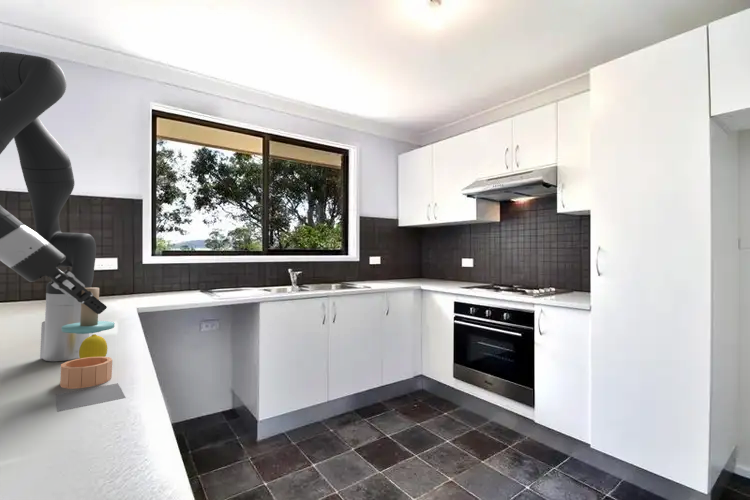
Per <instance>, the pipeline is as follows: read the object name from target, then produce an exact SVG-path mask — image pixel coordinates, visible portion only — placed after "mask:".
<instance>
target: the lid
mask: <svg viewBox="0 0 750 500" xmlns="http://www.w3.org/2000/svg"><path fill="white" fill-rule="evenodd" d="M85 289H86V290H88V291H90V292H91V293H92V295H93V296H94V297H95V298H97V299H98V300H99V301H100V287H91V288H85ZM84 292H85V291H83V290H82V294H83V293H84ZM114 328H115V322H114V321H108V320H107V321H106V320H105V321H104V320H99V314H97V313H95V312H94V311H93V310H91V309H90V308H89V307H87V306H86V305H85V304H83V303H81V318H80V323H73V324H68V325H64V326H62V332H65V333H76V334H88V333H89V334H95V333H101V332H103V331H108V330H112V329H114Z"/></svg>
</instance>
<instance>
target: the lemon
mask: <svg viewBox="0 0 750 500" xmlns="http://www.w3.org/2000/svg"><path fill="white" fill-rule="evenodd" d="M107 354H108V343H107V341H106V340H105V338H104V337H102V336H101V335H98V334H95V333H92V335H89V337H88V338H86V339H85V340H84V341H83V342H82V344H81V346H80V349H79V357H80V358H87V357H107Z"/></svg>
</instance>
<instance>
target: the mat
mask: <svg viewBox="0 0 750 500" xmlns="http://www.w3.org/2000/svg"><path fill="white" fill-rule="evenodd" d="M55 399H56V400H55V401H56V411H57V412H58V413H59V412H64V411H68V410H73V409H78V408H81V407H82V408H83V407H87V406H92V405H97V404H103V403H107V402H111V401H117V400H121V399H126V396H125V393H124V392H123V389H122V388H121V386H120V384H119V383H112V384H107V385H106V384H105V385H100V386H93V387H88V388H85V389H84V388H82V389H78V390H77V389H76V390H72V391H67V392H60V393H56V394H55Z"/></svg>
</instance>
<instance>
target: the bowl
mask: <svg viewBox="0 0 750 500" xmlns="http://www.w3.org/2000/svg"><path fill="white" fill-rule="evenodd" d="M112 371H113V359H112V357H111V356H109V357H108V356H105V357H87V358H78V359H73V360H66V361H65V362H63V363H61V364H60V377H59V386H60V387H61V388H62V389H68V390H69V389H72V390H73V389H74V390H75V389H76V390H77V389H84V388H85V389H86V388H92V387H97V386H99V385H102V384H105V383H107V382H109V381H110V380H111V379H112V376H113V372H112Z"/></svg>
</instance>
